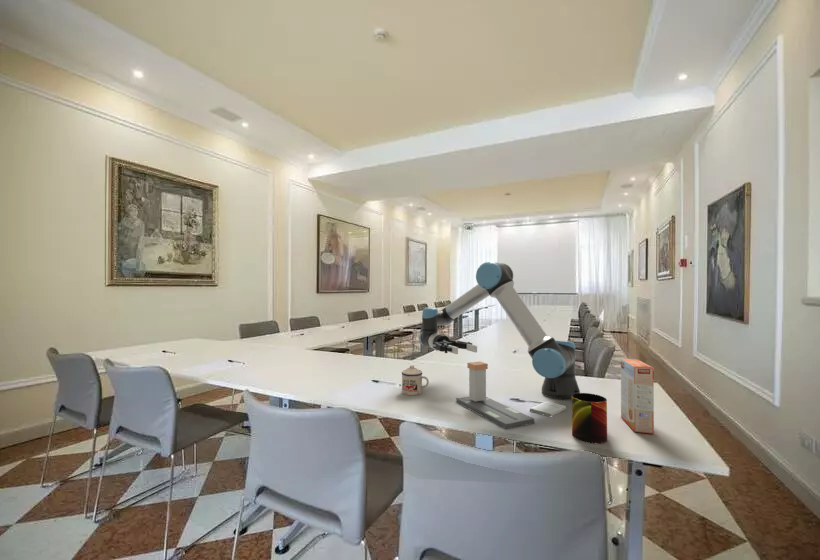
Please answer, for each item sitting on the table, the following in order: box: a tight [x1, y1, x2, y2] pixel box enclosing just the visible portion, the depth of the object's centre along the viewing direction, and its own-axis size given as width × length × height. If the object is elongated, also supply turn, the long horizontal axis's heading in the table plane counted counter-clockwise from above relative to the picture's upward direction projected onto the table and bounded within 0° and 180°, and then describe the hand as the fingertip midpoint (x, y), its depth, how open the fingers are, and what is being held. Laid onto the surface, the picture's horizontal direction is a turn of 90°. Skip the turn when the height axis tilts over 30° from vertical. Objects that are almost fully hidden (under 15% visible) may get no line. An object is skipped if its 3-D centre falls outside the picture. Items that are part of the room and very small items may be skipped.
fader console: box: [455, 395, 535, 430], centre depth 132 cm, size 30×12×2 cm, turn 25°
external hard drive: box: [529, 401, 567, 417], centre depth 134 cm, size 2×8×12 cm
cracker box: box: [620, 358, 655, 435], centre depth 119 cm, size 14×6×21 cm, turn 164°
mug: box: [571, 392, 608, 445], centre depth 112 cm, size 10×14×12 cm
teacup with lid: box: [401, 364, 430, 396], centre depth 156 cm, size 12×9×12 cm
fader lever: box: [467, 361, 489, 402], centre depth 140 cm, size 5×6×14 cm
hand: (466, 350), depth 147 cm, fingers open, 9 cm apart
